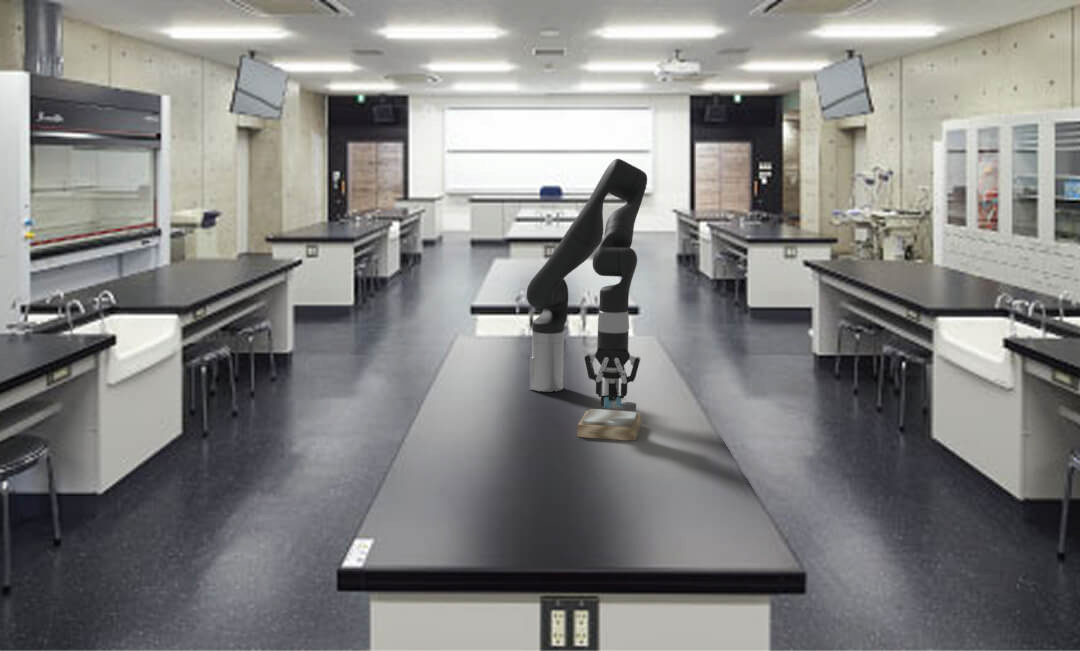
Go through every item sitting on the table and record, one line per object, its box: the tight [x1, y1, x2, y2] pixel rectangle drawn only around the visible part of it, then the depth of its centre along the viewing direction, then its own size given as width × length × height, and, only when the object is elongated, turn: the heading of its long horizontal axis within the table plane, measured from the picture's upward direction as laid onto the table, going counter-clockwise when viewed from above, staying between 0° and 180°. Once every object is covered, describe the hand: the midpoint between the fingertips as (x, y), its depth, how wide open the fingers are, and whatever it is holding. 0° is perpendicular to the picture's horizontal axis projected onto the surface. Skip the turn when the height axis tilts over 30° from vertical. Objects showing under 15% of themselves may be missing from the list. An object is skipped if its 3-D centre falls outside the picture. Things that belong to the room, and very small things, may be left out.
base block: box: [576, 408, 642, 441], centre depth 238 cm, size 14×14×4 cm
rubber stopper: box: [620, 401, 637, 412], centre depth 250 cm, size 4×4×4 cm
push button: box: [600, 367, 626, 409], centre depth 236 cm, size 7×5×10 cm
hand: (611, 396), depth 237 cm, fingers closed on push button, 5 cm apart
